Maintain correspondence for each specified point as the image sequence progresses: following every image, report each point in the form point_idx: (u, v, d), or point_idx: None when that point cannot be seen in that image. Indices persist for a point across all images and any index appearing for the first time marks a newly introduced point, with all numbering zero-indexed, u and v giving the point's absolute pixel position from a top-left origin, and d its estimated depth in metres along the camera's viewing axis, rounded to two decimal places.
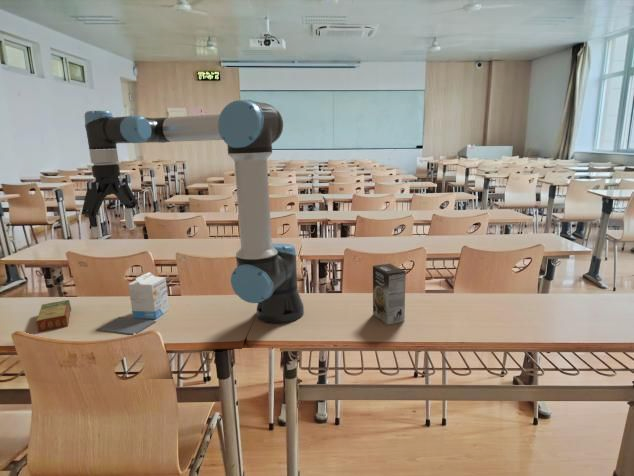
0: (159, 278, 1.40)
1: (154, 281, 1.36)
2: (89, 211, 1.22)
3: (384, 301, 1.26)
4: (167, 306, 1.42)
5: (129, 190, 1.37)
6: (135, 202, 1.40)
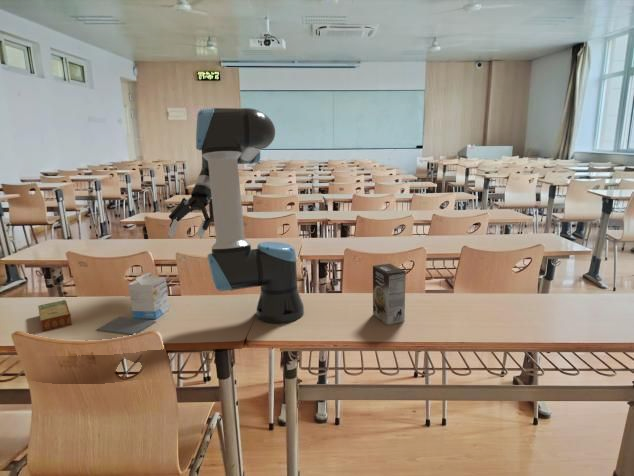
0: (159, 278, 1.40)
1: (154, 281, 1.36)
2: (170, 215, 1.62)
3: (384, 301, 1.26)
4: (167, 306, 1.42)
5: (210, 207, 1.59)
6: (210, 216, 1.57)
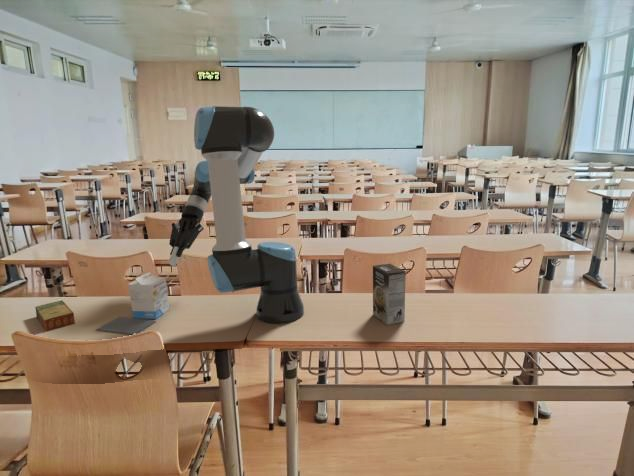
0: (159, 278, 1.40)
1: (154, 281, 1.36)
2: (170, 242, 1.55)
3: (384, 301, 1.26)
4: (167, 306, 1.42)
5: (192, 232, 1.55)
6: (185, 243, 1.53)
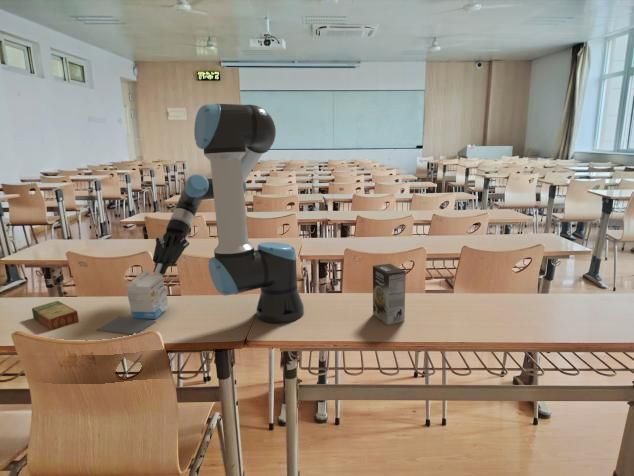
0: (156, 277, 1.38)
1: (151, 282, 1.35)
2: (153, 258, 1.46)
3: (384, 301, 1.26)
4: (166, 303, 1.42)
5: (177, 248, 1.46)
6: (169, 259, 1.44)
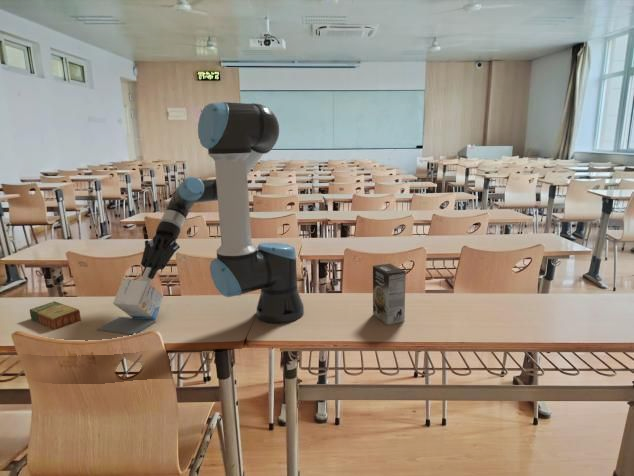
0: (140, 285, 1.30)
1: (137, 295, 1.28)
2: (142, 262, 1.41)
3: (384, 301, 1.26)
4: (160, 296, 1.38)
5: (167, 251, 1.41)
6: (159, 263, 1.39)
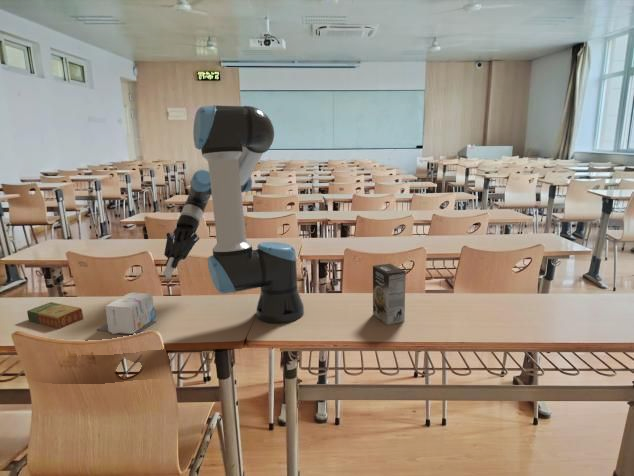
0: (126, 313, 1.23)
1: (129, 324, 1.24)
2: (165, 253, 1.51)
3: (384, 301, 1.26)
4: (150, 298, 1.32)
5: (188, 243, 1.51)
6: (181, 253, 1.50)
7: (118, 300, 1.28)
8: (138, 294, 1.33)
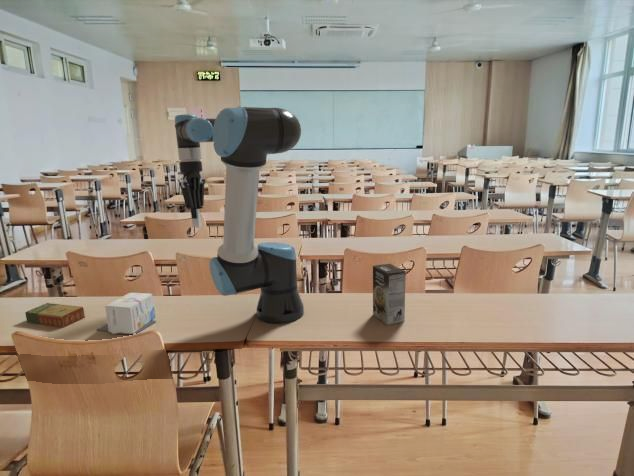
0: (126, 313, 1.23)
1: (129, 324, 1.24)
2: (192, 206, 1.48)
3: (384, 301, 1.26)
4: (150, 298, 1.32)
5: (203, 190, 1.54)
6: (202, 203, 1.54)
7: (118, 300, 1.28)
8: (138, 294, 1.33)
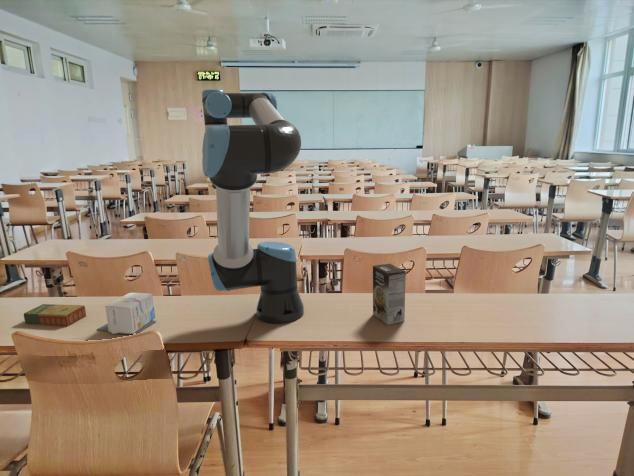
0: (126, 313, 1.23)
1: (129, 324, 1.24)
2: None
3: (384, 301, 1.26)
4: (150, 298, 1.32)
5: None
6: None
7: (118, 300, 1.28)
8: (138, 294, 1.33)
